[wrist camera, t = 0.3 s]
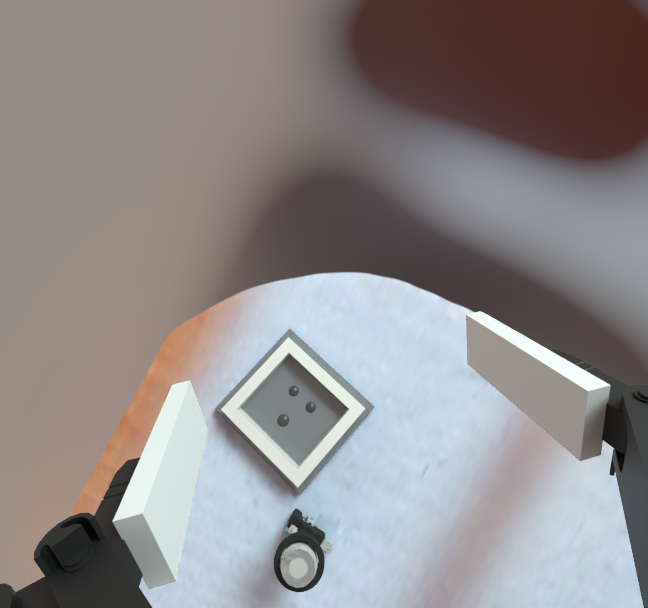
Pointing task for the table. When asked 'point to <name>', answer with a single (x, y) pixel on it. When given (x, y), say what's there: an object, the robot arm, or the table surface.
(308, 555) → the push button
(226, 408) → the socket plate
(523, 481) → the table surface
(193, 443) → the robot arm
